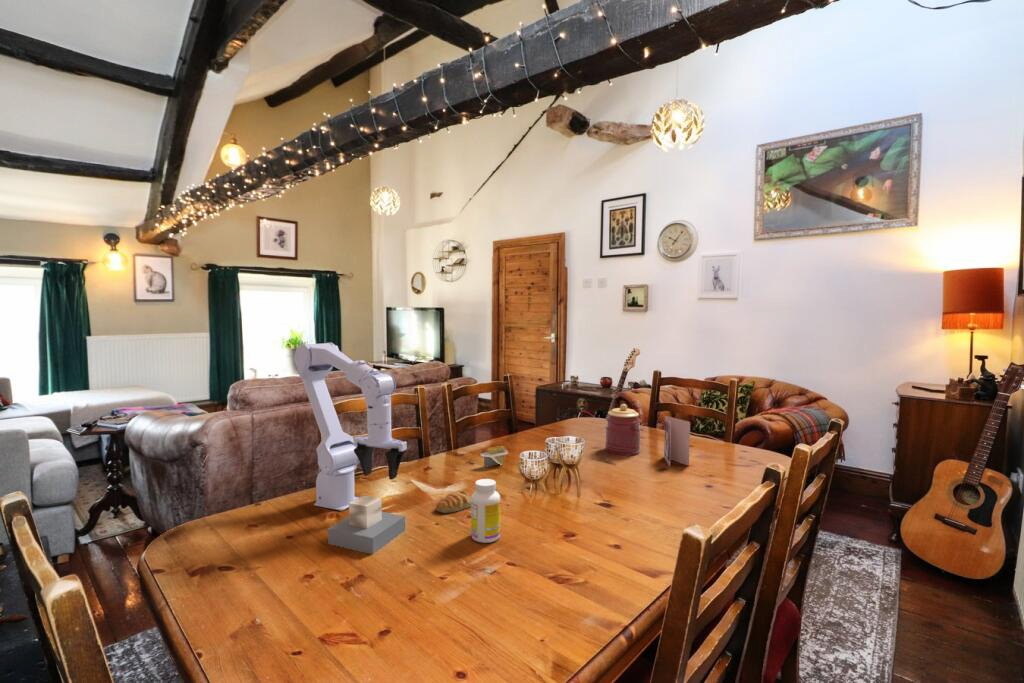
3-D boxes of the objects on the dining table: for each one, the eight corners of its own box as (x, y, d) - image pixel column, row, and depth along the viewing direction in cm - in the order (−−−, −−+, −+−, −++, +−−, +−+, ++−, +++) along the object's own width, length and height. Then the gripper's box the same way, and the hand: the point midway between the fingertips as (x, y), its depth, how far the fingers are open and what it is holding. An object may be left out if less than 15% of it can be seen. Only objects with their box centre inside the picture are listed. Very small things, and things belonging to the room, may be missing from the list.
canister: (605, 454, 174) (606, 406, 173) (604, 445, 187) (605, 400, 186) (642, 456, 172) (643, 408, 171) (638, 446, 185) (639, 401, 184)
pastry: (446, 517, 121) (445, 502, 120) (430, 510, 125) (429, 495, 125) (474, 507, 127) (474, 493, 127) (458, 500, 132) (458, 486, 132)
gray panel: (328, 546, 106) (328, 528, 106) (363, 524, 117) (363, 508, 117) (373, 556, 102) (372, 538, 102) (405, 532, 113) (405, 516, 113)
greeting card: (661, 456, 172) (662, 415, 171) (683, 457, 171) (684, 416, 170) (667, 466, 161) (668, 422, 160) (690, 468, 160) (691, 423, 159)
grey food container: (527, 467, 161) (527, 447, 161) (482, 477, 150) (482, 457, 150) (507, 458, 171) (507, 440, 170) (463, 467, 160) (463, 448, 160)
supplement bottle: (504, 533, 112) (504, 479, 111) (494, 546, 106) (494, 489, 105) (477, 528, 114) (478, 475, 113) (466, 541, 108) (466, 485, 107)
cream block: (349, 524, 108) (349, 502, 108) (364, 516, 113) (364, 495, 112) (366, 528, 106) (366, 506, 106) (381, 519, 110) (381, 498, 110)
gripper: (413, 421, 120) (413, 474, 121) (365, 416, 125) (366, 468, 126) (396, 427, 113) (397, 484, 114) (347, 422, 119) (348, 476, 119)
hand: (380, 476), depth 120 cm, fingers open, 7 cm apart
